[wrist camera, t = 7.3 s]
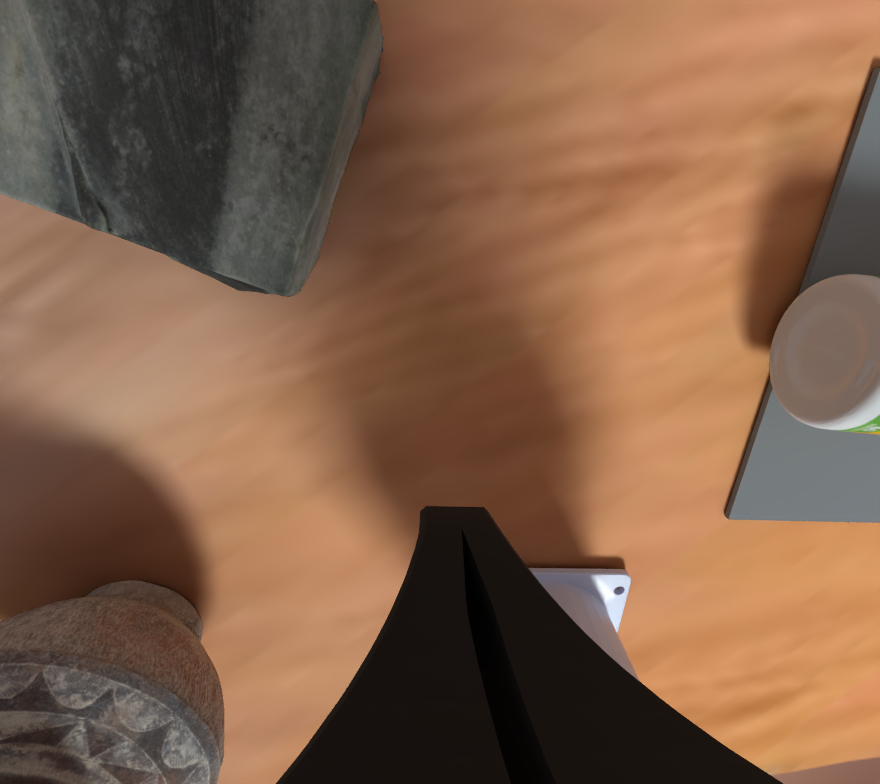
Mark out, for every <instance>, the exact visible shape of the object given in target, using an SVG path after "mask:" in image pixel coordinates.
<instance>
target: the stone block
mask: <svg viewBox="0 0 880 784" xmlns="http://www.w3.org/2000/svg"><path fill="white" fill-rule="evenodd" d="M382 51H383V36H382V27H381V24H380V19H379V12H378V5H377V4H376V3H375V2H374V1H373V0H0V194H2V195H5V196H8V197H11V198H14V199H16V200H19V201H22V202H25V203H28V204H31V205H34V206H37V207H39V208H42V209H45V210H48V211H50V212H53V213H56V214H59V215H62V216H64V217H67V218H70V219H72V220H75V221H78V222H81V223H83V224H85V225H87V226H89V227H91V228H92V229H96V230H99V231H103V232H106V233H109V234H112V235H115V236H117V237H120V238H122V239H125V240H128V241H130V242H133V243H136V244H138V245H141V246H144V247H146V248H149V249H152V250H155V251H157V252H160V253H163V254H165V255H167V256H168V257H170V258H171V259H173V260H175V261H177V262H179V263H181V264H184V265H186V266H188V267H190V268H192V269H195V270H197V271H199V272H201V273H203V274H206V275H208V276H210V277H213V278H215V279H216V280H218V281H220V282H222V283H224V284H226V285H228V286H231V287H233V288H235V289H237V290H240V291H253V292H260V293H265V294H277V295H281V296H287V297H291V296H293V295H295V294H297V293H298V292H299V291H301V289H300V288H301V287H302V286H303V285H304V283H305V281H306V280H307V278H308V277H309V275H310V272H311V271H312V269H313V267H314V266H315V264H316V262H317V260H318V258H319V253H320V249H321V246H322V242H323V239H324V236H325V233H326V229H327V226H328V222H329V219H330V215H331V211H332V207H333V203H334V199H335V197H336V194H337V191H338V188H339V185H340V181H341V178H342V176H343V174H344V171H345V169H346V165H347V162H348V159H349V156H350V152H351V149H352V147H353V145H354V143H355V141H356V138H357V136H358V134H359V131H360V127H361V124H362V121H363V119H364V115H365V111H366V108H367V104H368V100H369V97H370V93H371V89H372V85H373V83H374V81H375V80H376V78H377V76H378V74H380V71H379V61H380V55H381V52H382Z"/></svg>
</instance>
